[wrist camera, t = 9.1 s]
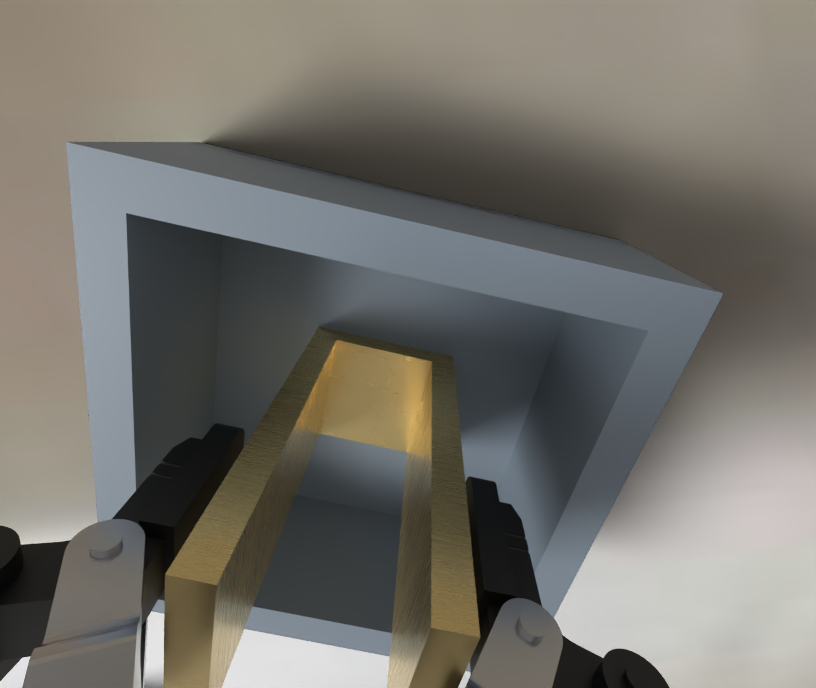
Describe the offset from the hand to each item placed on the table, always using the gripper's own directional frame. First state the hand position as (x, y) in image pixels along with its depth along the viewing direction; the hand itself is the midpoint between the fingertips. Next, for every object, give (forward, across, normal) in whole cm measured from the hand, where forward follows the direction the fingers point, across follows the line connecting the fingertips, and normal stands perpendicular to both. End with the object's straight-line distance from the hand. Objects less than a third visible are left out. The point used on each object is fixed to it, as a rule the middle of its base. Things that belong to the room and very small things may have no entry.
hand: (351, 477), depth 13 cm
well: (+6, 0, 0) cm, 6 cm away
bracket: (+5, 0, 0) cm, 5 cm away
